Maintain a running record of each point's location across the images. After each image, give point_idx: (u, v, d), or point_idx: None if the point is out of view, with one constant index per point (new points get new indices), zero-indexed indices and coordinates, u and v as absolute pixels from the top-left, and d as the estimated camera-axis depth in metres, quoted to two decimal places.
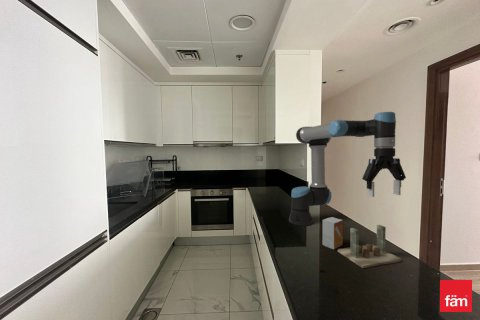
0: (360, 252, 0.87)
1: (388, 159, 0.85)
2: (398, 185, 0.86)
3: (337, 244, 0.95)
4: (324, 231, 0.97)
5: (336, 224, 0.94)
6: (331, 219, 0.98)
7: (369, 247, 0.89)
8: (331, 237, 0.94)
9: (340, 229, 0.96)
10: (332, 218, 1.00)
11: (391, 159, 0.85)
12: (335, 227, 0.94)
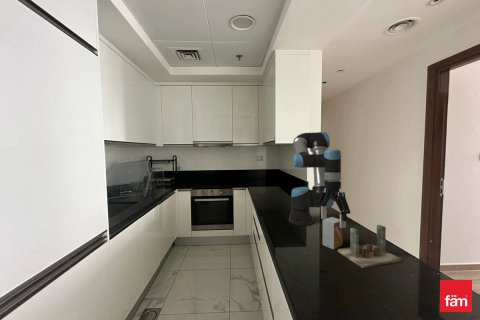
0: (360, 252, 0.87)
1: (332, 191, 0.96)
2: None
3: (337, 244, 0.95)
4: (324, 231, 0.97)
5: (336, 224, 0.94)
6: (331, 219, 0.98)
7: (369, 247, 0.89)
8: (331, 237, 0.94)
9: (340, 229, 0.96)
10: (332, 218, 1.00)
11: (334, 191, 0.94)
12: (335, 227, 0.94)
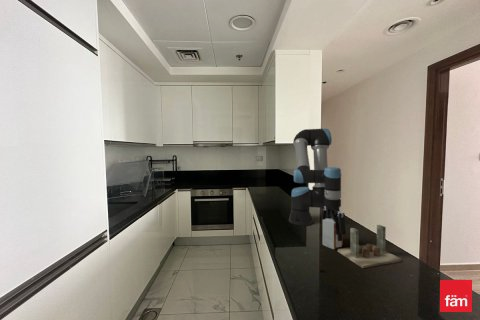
0: (360, 252, 0.87)
1: (332, 207, 0.96)
2: None
3: None
4: (324, 231, 0.97)
5: None
6: (331, 219, 0.98)
7: (369, 247, 0.89)
8: (331, 237, 0.94)
9: None
10: None
11: (334, 209, 0.95)
12: (335, 227, 0.94)
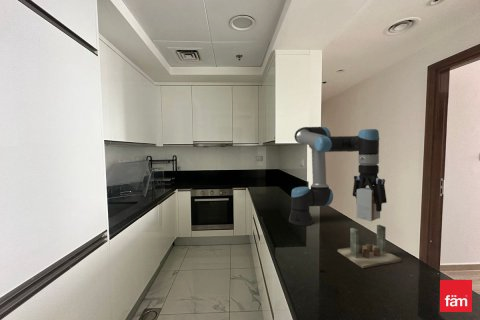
0: (360, 252, 0.87)
1: (368, 175, 0.85)
2: None
3: None
4: (359, 202, 0.86)
5: None
6: (367, 189, 0.86)
7: (369, 247, 0.89)
8: (368, 208, 0.82)
9: (378, 200, 0.85)
10: (366, 188, 0.89)
11: (371, 176, 0.83)
12: (373, 195, 0.82)
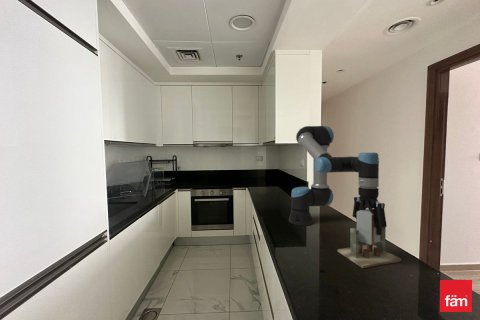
0: (360, 252, 0.87)
1: (368, 198, 0.85)
2: None
3: None
4: (359, 224, 0.86)
5: None
6: (367, 211, 0.87)
7: (369, 247, 0.89)
8: (369, 231, 0.83)
9: None
10: (366, 209, 0.89)
11: (371, 199, 0.83)
12: (373, 219, 0.82)
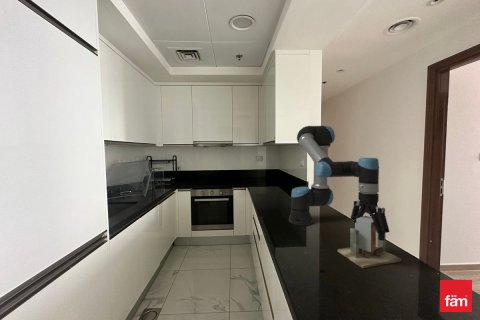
0: (360, 252, 0.87)
1: (368, 203, 0.85)
2: None
3: (374, 246, 0.84)
4: None
5: (373, 224, 0.83)
6: (366, 218, 0.87)
7: None
8: (368, 238, 0.83)
9: (377, 230, 0.85)
10: (366, 216, 0.89)
11: (371, 205, 0.84)
12: (372, 226, 0.83)
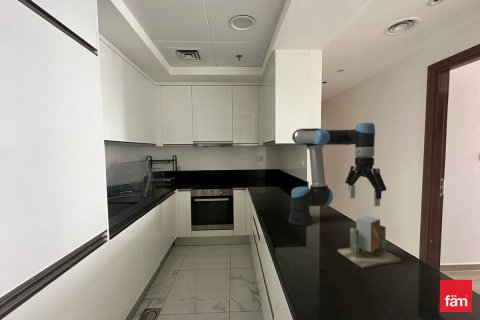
0: (360, 252, 0.87)
1: (363, 168, 0.89)
2: None
3: (374, 246, 0.84)
4: None
5: (373, 224, 0.83)
6: (367, 218, 0.87)
7: None
8: (368, 238, 0.83)
9: (377, 230, 0.85)
10: (366, 216, 0.89)
11: (366, 168, 0.87)
12: (372, 227, 0.83)
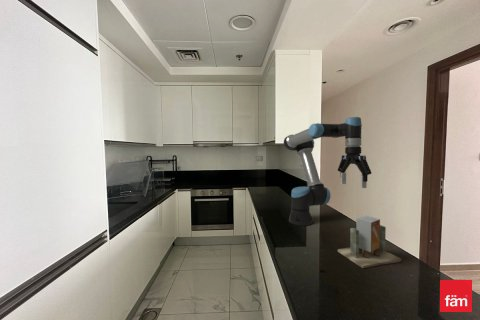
0: (360, 252, 0.87)
1: (352, 156, 1.03)
2: None
3: (374, 246, 0.84)
4: None
5: (373, 224, 0.83)
6: (367, 218, 0.87)
7: None
8: (368, 238, 0.83)
9: (377, 230, 0.85)
10: (366, 216, 0.89)
11: (355, 156, 1.01)
12: (372, 227, 0.83)
